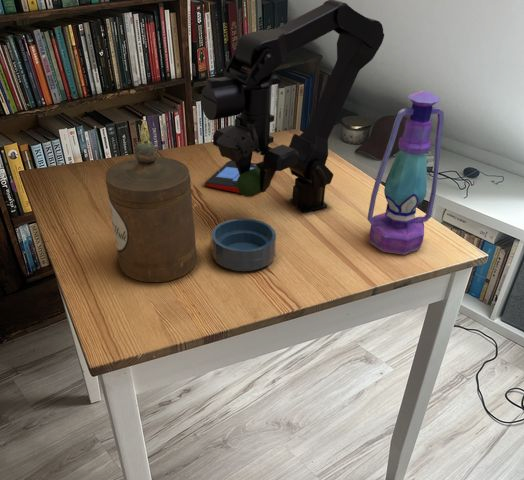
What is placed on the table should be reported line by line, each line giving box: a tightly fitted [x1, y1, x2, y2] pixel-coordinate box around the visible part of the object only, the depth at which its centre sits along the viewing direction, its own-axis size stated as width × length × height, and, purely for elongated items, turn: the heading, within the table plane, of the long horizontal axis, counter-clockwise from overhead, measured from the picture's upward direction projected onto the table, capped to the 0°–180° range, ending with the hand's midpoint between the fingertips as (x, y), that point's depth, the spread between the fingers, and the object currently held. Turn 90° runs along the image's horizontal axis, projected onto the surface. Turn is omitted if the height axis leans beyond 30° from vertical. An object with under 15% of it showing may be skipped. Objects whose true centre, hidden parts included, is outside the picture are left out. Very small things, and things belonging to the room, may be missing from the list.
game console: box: [204, 160, 258, 194], centre depth 137 cm, size 14×13×2 cm
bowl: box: [210, 218, 277, 272], centre depth 110 cm, size 12×12×5 cm
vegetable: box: [134, 119, 157, 158], centre depth 117 cm, size 4×4×20 cm
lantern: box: [366, 90, 445, 255], centre depth 108 cm, size 13×12×30 cm
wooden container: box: [104, 149, 197, 283], centre depth 102 cm, size 15×15×22 cm
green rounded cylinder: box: [237, 167, 272, 198], centre depth 117 cm, size 8×5×5 cm, turn 136°
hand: (253, 187), depth 117 cm, fingers closed on green rounded cylinder, 5 cm apart
